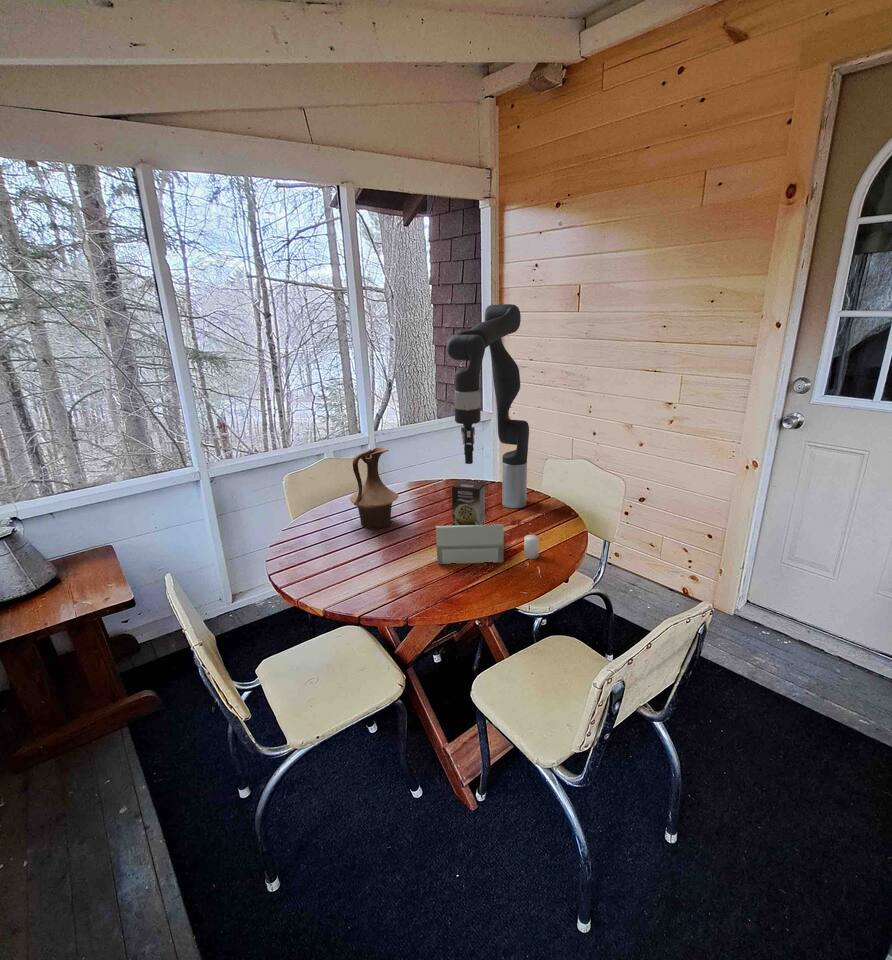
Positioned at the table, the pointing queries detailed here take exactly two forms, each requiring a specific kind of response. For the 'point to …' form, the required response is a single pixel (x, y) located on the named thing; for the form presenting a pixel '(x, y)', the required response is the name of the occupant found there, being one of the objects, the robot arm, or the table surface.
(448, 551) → the mint green corner panel
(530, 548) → the white rounded capsule
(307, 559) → the table surface
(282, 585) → the table surface
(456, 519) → the coffee box
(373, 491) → the pitcher
